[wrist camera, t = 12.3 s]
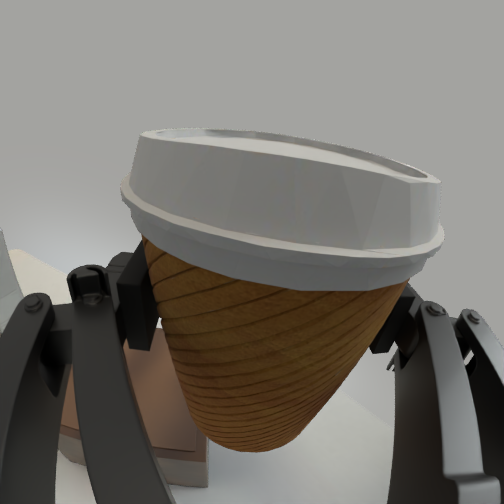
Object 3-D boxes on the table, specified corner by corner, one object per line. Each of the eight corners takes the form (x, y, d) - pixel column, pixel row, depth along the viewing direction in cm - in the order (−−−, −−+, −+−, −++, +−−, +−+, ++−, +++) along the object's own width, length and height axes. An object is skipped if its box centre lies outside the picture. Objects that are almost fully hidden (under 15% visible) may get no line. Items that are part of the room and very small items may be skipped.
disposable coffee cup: (316, 338, 18) (365, 149, 13) (360, 468, 9) (525, 220, 4) (168, 333, 17) (164, 125, 11) (144, 477, 8) (32, 157, 3)
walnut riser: (210, 379, 31) (211, 331, 28) (208, 487, 19) (206, 461, 15) (101, 365, 30) (84, 316, 26) (70, 460, 17) (33, 422, 14)
